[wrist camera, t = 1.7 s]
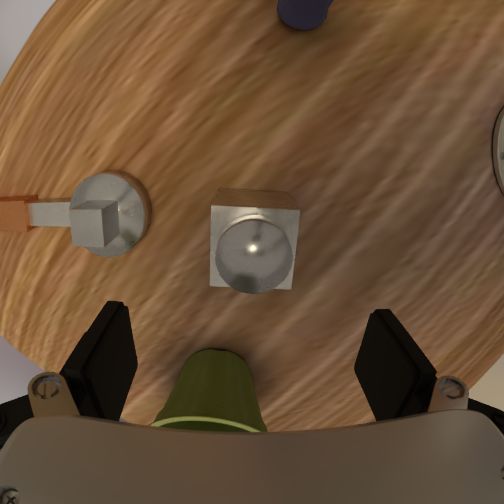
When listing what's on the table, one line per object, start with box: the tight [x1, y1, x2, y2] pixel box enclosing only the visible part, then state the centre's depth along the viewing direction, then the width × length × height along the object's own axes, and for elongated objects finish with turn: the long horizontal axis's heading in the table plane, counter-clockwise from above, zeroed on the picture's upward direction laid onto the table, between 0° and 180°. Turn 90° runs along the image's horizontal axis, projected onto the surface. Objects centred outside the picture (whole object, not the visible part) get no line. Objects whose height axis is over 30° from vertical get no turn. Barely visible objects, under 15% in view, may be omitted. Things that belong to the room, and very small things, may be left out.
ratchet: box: [0, 170, 152, 257], centre depth 22 cm, size 20×7×6 cm, turn 87°
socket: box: [210, 188, 300, 294], centre depth 22 cm, size 6×6×8 cm
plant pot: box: [148, 349, 268, 432], centre depth 26 cm, size 12×12×11 cm
